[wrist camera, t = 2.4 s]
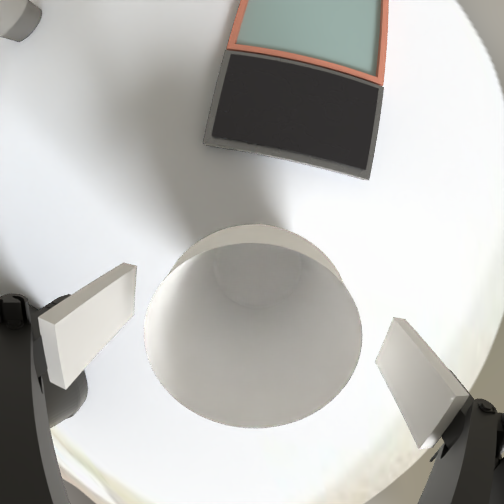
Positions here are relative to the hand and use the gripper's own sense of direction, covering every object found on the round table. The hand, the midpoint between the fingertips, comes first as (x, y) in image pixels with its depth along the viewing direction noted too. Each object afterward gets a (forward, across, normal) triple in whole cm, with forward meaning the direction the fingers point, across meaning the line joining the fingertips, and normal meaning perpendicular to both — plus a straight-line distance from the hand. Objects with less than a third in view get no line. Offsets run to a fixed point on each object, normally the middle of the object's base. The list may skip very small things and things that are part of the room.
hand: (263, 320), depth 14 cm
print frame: (+9, 0, +22) cm, 24 cm away
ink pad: (+9, 0, +12) cm, 15 cm away
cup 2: (+9, -1, 0) cm, 9 cm away
